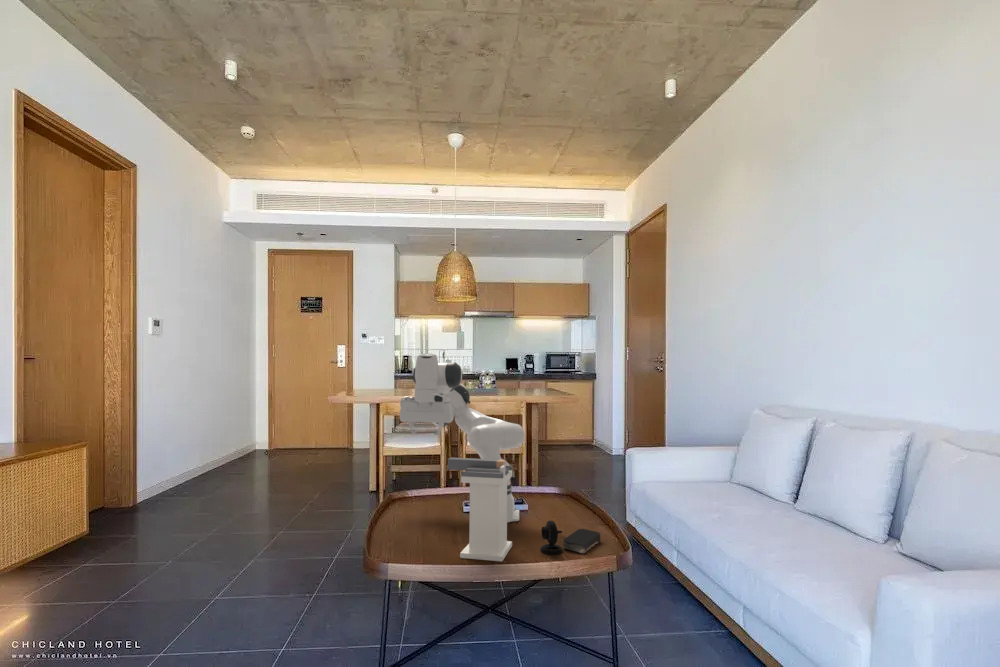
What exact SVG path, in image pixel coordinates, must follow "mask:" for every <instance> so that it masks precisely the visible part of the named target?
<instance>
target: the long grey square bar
mask: <svg viewBox="0 0 1000 667" xmlns="http://www.w3.org/2000/svg"><path fill="white" fill-rule="evenodd" d="M506 461H507V460H506V459H503V460H496V459H481V458H474V457H473V458H472V457H471V458H468V457H449V458H447V470H449V471H450V470H452V471H467V468H469V467H483V468H500V467H501V466H502V465H504V466H506ZM505 469H506V467H505Z"/></svg>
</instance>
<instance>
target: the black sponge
mask: <svg viewBox="0 0 1000 667" xmlns="http://www.w3.org/2000/svg"><path fill="white" fill-rule="evenodd" d="M600 542H601V533H600V532H598V531H595V530H590V529H585V528H578V529H577V530H575V531H574V532H572V533H571V534H569V535H567V536H566V537H564V538H562V548H564V549H566V550H569V551H573V552H576V553H580V554H585V553H586V552H588V551H589V550H591V549H592V548H593V547H594V546H596V545H597V544H599V543H600ZM595 544H596V545H595ZM591 547H592V548H591Z"/></svg>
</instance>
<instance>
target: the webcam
mask: <svg viewBox="0 0 1000 667" xmlns="http://www.w3.org/2000/svg"><path fill="white" fill-rule="evenodd" d="M559 534H563V531H562V530H558V527H557V524H556V522H555V521H554V520H553V519H552V520H551V519H550V520H547V521H546V525H545V526H542V527H541V537H542V539H543V540H546V541H547V542H548V543H546V544H543V545H541V546H540V551H541V553H543V554H547V555H558V554H562V552H563V550H564V549H563V548H564V547H563V546H561V545H559V544H556V543H557V541H558V537H559Z"/></svg>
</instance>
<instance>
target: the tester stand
mask: <svg viewBox="0 0 1000 667" xmlns="http://www.w3.org/2000/svg"><path fill="white" fill-rule="evenodd" d="M505 467H506V469H505ZM460 475H461V476H460V481H461V482H460V483H462V484H465V483H466V484H469V531H468V532H469V534H468V535H469V536H468V537H469V539H468V540H469V543H468V544H466V546H465V547H464V548H463V550H461V552H460V554H459V557H460V559H468V560H469V559H471V560H481V561H492V562H503V561H504V559H505V558H506V556H507V555H508V553H509V551H510V550H511V548H512V547H513V541H510V540H508V522H507V480H508V479H509V478H510V479H511V478H512V476H513V465H510V466H504V465H502V466H501V467H500V468H483V467H469V468H467V470H461V474H460Z"/></svg>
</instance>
